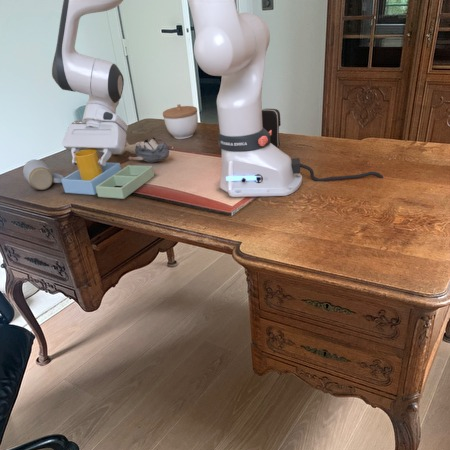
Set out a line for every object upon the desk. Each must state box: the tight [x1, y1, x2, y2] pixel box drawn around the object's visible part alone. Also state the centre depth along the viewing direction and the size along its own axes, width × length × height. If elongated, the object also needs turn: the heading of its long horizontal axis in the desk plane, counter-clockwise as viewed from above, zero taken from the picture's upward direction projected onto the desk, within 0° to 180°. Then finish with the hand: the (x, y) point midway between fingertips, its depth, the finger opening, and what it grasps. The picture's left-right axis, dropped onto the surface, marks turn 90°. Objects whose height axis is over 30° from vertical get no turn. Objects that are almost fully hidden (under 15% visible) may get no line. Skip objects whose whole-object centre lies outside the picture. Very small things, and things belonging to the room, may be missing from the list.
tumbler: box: [74, 149, 103, 181], centre depth 130 cm, size 7×7×9 cm
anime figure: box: [111, 137, 170, 164], centre depth 146 cm, size 10×7×30 cm
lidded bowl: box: [162, 103, 199, 140], centre depth 162 cm, size 13×13×11 cm
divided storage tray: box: [96, 164, 156, 200], centre depth 128 cm, size 9×17×3 cm, turn 157°
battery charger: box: [262, 108, 282, 148], centre depth 142 cm, size 7×4×11 cm, turn 58°
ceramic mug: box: [22, 158, 65, 191], centre depth 134 cm, size 11×8×8 cm
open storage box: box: [61, 162, 122, 196], centre depth 132 cm, size 11×15×4 cm
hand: (88, 164), depth 129 cm, fingers open, 8 cm apart
